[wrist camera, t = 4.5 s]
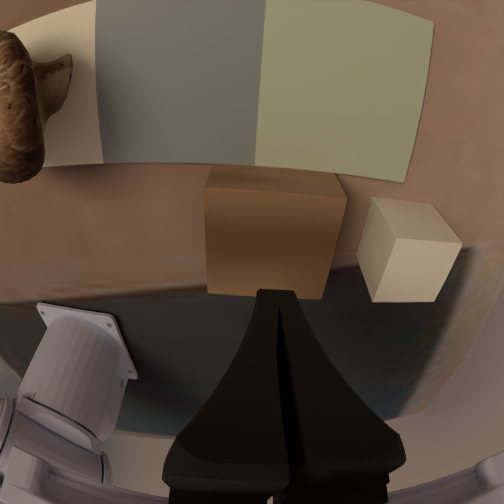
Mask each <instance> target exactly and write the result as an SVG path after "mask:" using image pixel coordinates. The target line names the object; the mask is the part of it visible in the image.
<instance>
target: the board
mask: <svg viewBox="0 0 504 504" xmlns="http://www.w3.org/2000/svg"><path fill="white" fill-rule="evenodd" d="M433 27H434V23H433V22H431V21H428V20H426V19H423V18H420V17H417V16H415V15H412V14H409V13H406V12H403V11H400V10H397V9H394V8H390V7H387V6H384V5H380V4H377V3H373V2H369V1H365V0H94V1H90V2H86V3H82V4H79V5H75V6H72V7H69V8H66V9H63V10H60V11H57V12H54V13H51V14H48V15H45V16H42V17H40V18H37V19H35V20H32V21H30V22H27V23H25V24H22V25H20V26H18V27H15V28H13V29H11V30H9V31H7V32H12V33H14V34H15V35H16V36H17V37H18V38H19V39H20V40H21V42H22V43H23V45H24V46H25V48H26V49H27V51H28V52H29V55H30V58H31V59H32V60H34V61H36V62H39V63H44V62H50V61H53V60H56V59H58V58H60V57H62V56H64V55H66V54H72V59H73V70H72V76H71V82H70V86H69V91H68V95H67V97H66V99H65V101H64V104H63V106H62V107H61V108H60V110H59V111H58V112H57V113H55V114H53V115H52V116H50V118H49V119H48V121H47V123H46V126H45V131H44V144H45V161H44V164H43V167H52V166H66V165H82V164H104V163H210V164H233V165H251V166H266V167H279V168H291V169H302V170H312V171H321V172H330V173H339V174H347V175H355V176H362V177H369V178H376V179H383V180H389V181H396V182H402V183H404V180H405V177H406V173H407V169H408V165H409V162H410V158H411V154H412V150H413V145H414V141H415V137H416V133H417V128H418V123H419V119H420V114H421V109H422V104H423V98H424V93H425V87H426V81H427V75H428V68H429V61H430V54H431V46H432V37H433Z"/></svg>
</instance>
